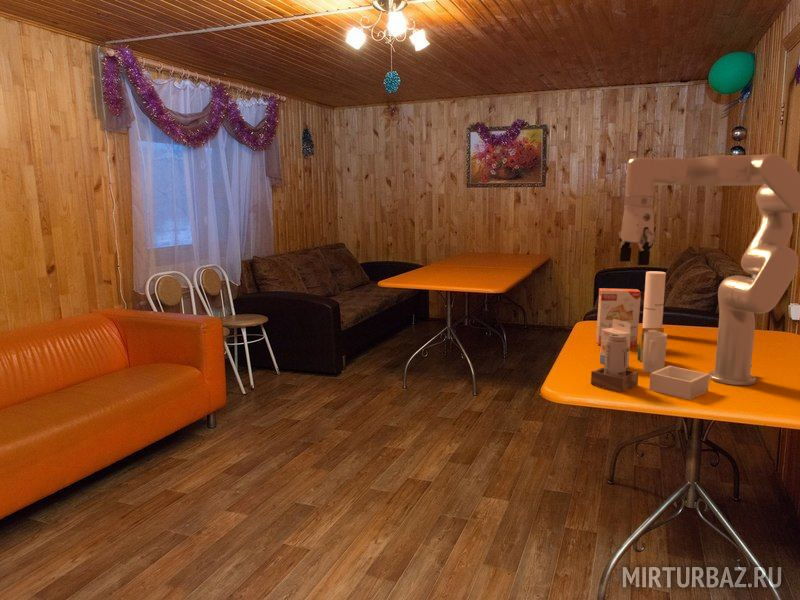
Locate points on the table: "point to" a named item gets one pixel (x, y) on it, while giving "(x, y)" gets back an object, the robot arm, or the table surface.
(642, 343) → the crayon box
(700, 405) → the table surface
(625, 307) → the cracker box
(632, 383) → the walnut holder
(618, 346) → the energy drink can
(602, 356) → the ink box
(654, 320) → the cylindrical container
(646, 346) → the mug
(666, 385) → the grey bin
